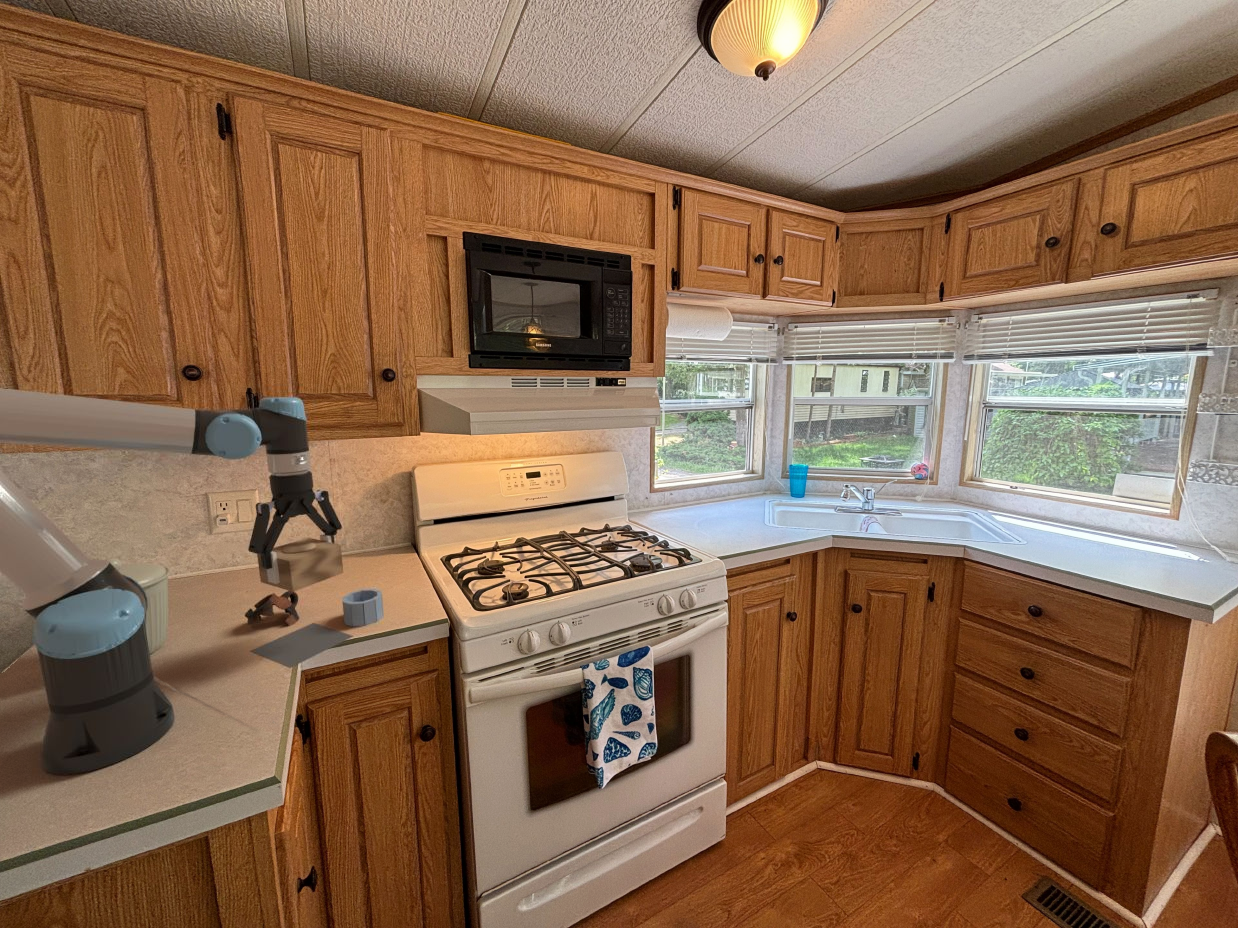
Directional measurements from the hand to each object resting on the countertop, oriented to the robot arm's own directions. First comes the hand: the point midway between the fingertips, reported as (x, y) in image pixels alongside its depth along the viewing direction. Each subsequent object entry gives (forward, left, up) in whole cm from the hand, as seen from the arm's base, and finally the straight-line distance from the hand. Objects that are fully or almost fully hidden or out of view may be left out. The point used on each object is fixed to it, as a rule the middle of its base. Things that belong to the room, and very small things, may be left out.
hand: (302, 572), depth 109 cm
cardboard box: (0, 0, -1) cm, 1 cm away
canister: (-20, +30, -17) cm, 40 cm away
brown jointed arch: (+3, +16, -17) cm, 23 cm away
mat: (-1, 0, -16) cm, 16 cm away
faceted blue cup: (+13, -1, -16) cm, 21 cm away
